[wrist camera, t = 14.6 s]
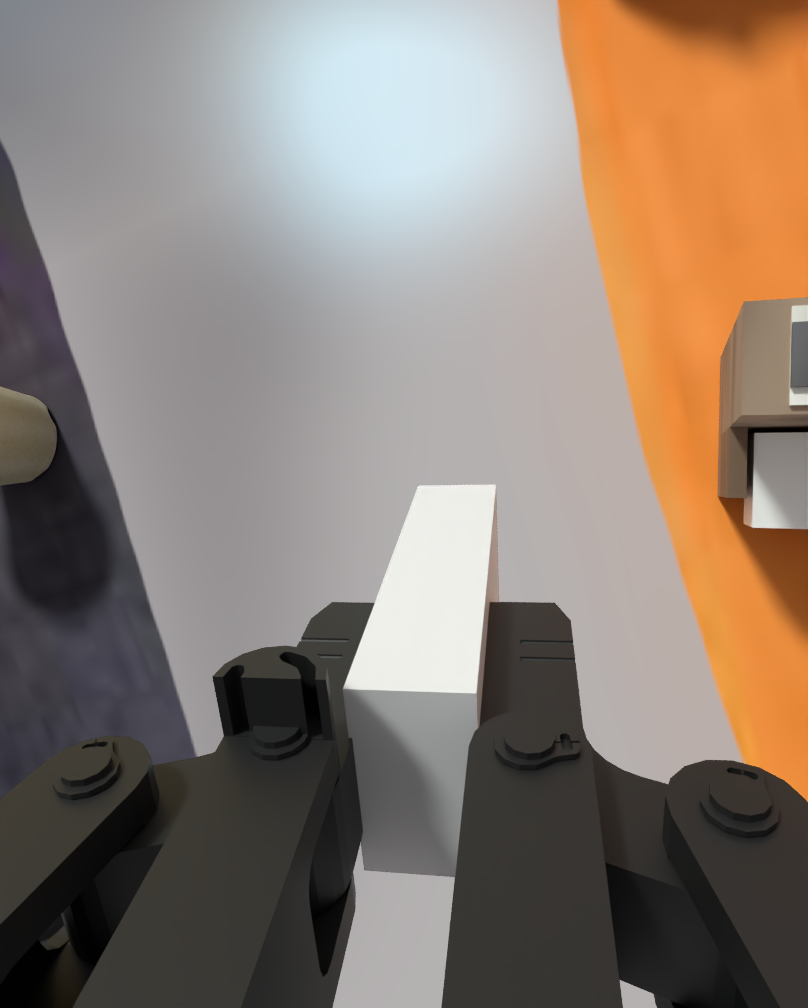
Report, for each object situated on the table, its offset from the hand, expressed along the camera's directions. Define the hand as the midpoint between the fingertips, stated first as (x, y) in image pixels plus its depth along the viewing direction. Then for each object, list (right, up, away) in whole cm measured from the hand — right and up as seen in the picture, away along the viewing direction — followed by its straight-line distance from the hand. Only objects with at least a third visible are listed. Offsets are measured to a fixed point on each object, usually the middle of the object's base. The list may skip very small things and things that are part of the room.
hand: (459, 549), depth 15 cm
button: (+17, +2, +19) cm, 26 cm away
